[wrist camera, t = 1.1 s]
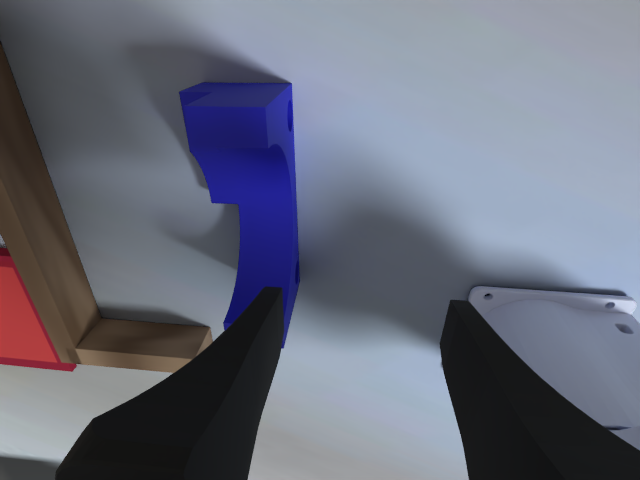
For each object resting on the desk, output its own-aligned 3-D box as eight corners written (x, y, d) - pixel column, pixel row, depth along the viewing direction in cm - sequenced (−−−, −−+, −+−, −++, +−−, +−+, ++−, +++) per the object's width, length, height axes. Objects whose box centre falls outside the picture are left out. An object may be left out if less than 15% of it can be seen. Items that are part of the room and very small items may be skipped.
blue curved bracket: (204, 81, 19) (145, 105, 14) (292, 82, 19) (265, 106, 13) (232, 275, 25) (199, 342, 20) (300, 279, 25) (283, 348, 20)
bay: (139, -70, 16) (97, -87, 13) (212, 342, 28) (197, 374, 26) (-72, -70, 17) (-152, -86, 14) (88, 331, 29) (61, 362, 26)
